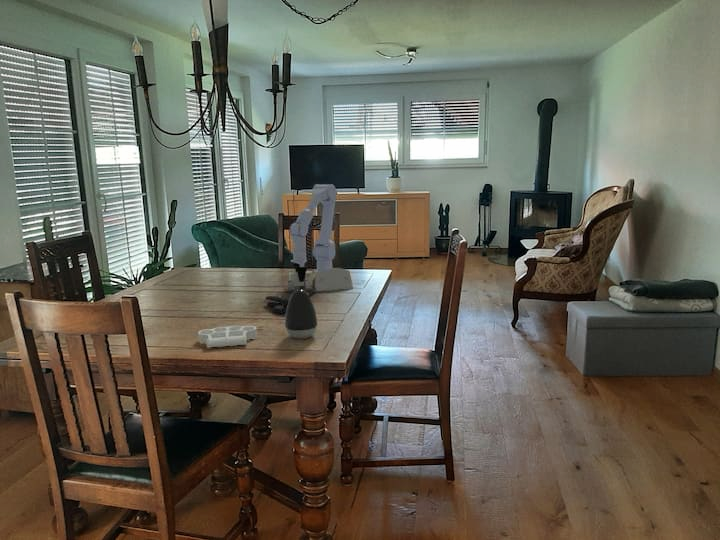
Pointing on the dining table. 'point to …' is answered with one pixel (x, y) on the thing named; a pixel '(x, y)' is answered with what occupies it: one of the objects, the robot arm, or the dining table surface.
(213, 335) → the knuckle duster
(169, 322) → the dining table surface
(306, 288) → the clip bracket
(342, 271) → the grey curved block
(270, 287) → the dining table surface
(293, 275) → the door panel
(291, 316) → the dark grey tapered dome
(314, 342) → the dining table surface
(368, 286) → the dining table surface
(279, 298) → the can opener
